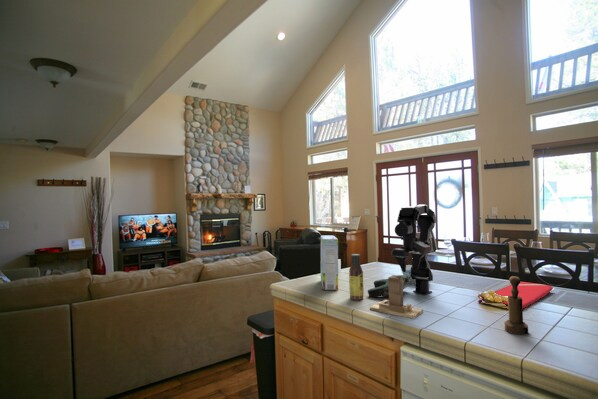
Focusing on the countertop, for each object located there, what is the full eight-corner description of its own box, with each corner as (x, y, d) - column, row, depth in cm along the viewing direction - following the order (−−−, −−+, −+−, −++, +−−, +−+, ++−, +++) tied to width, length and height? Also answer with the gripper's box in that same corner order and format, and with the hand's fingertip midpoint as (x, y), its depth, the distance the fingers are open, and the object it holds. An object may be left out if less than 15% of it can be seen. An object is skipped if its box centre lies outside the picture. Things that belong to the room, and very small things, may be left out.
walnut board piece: (393, 305, 135) (393, 275, 135) (403, 307, 133) (402, 276, 133) (389, 308, 131) (388, 277, 131) (398, 310, 129) (398, 278, 129)
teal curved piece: (374, 277, 169) (414, 271, 161) (378, 290, 168) (418, 284, 160) (366, 287, 151) (410, 281, 143) (369, 302, 150) (414, 296, 142)
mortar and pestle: (500, 327, 112) (498, 274, 112) (517, 326, 112) (516, 273, 113) (514, 335, 105) (512, 278, 106) (533, 334, 106) (531, 278, 106)
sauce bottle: (363, 300, 146) (362, 255, 146) (349, 300, 147) (348, 255, 147) (363, 296, 152) (362, 253, 152) (349, 296, 153) (348, 253, 153)
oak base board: (380, 303, 141) (379, 296, 141) (422, 311, 130) (422, 304, 130) (370, 309, 134) (369, 302, 134) (414, 318, 122) (414, 310, 122)
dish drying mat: (477, 304, 139) (476, 295, 139) (515, 287, 164) (515, 279, 164) (519, 313, 127) (519, 303, 127) (554, 293, 152) (554, 285, 152)
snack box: (340, 290, 164) (338, 238, 164) (322, 291, 164) (321, 239, 164) (335, 280, 185) (334, 234, 186) (320, 280, 186) (319, 234, 186)
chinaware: (403, 285, 172) (402, 270, 172) (399, 278, 186) (399, 264, 186) (433, 285, 169) (433, 270, 169) (427, 278, 184) (426, 265, 184)
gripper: (413, 237, 133) (414, 276, 133) (438, 234, 144) (439, 270, 144) (390, 236, 142) (391, 272, 142) (415, 233, 153) (416, 267, 153)
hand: (410, 270), depth 145 cm, fingers open, 9 cm apart
